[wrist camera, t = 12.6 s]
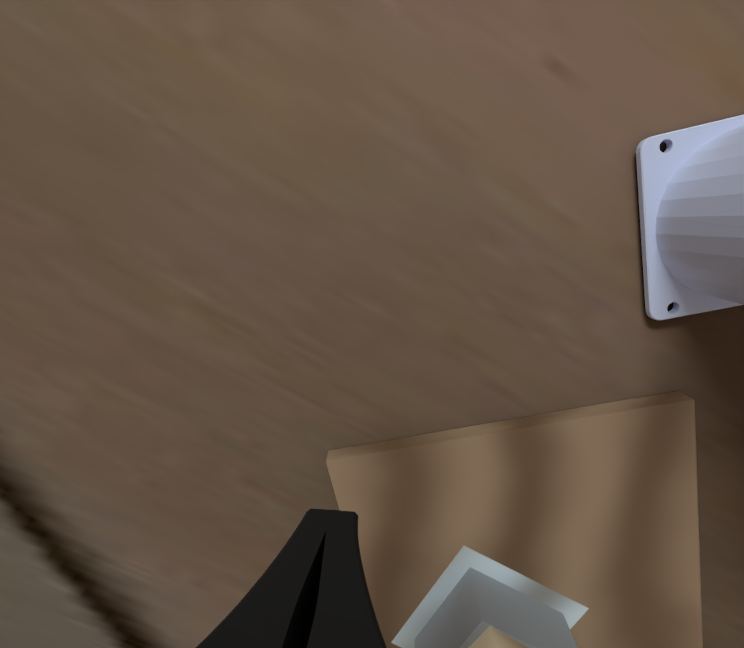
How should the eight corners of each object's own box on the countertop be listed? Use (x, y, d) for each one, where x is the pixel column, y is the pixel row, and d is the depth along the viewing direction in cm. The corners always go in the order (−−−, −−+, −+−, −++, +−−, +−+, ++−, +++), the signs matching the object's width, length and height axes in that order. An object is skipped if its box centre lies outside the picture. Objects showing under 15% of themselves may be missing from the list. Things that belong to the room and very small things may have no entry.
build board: (679, 390, 20) (695, 399, 18) (691, 663, 24) (704, 683, 23) (328, 450, 21) (325, 461, 20) (396, 693, 26) (396, 713, 25)
